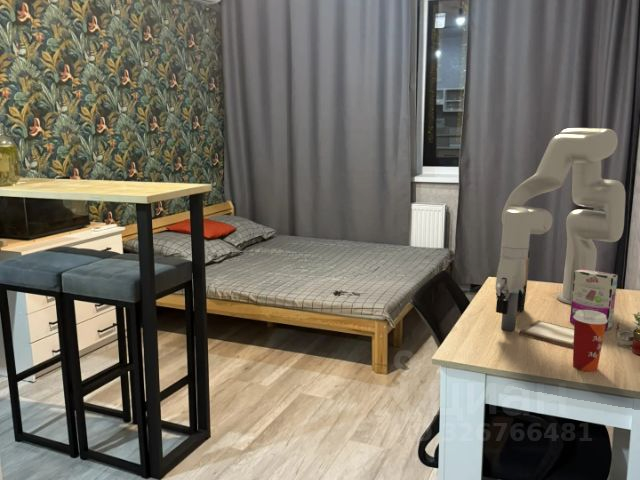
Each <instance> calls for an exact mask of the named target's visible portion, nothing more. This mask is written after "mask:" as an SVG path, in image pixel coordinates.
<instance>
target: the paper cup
mask: <svg viewBox="0 0 640 480" xmlns="http://www.w3.org/2000/svg"><path fill="white" fill-rule="evenodd" d="M573 317H574V319H575V321H574V323H573V324H574V327H573V329H574V345H573V348H572V351H573V352H572V366H573V368H575V369H577V370H579V371H583V372H589V373H592V372H596V371H597V370H598V367H599V362H600V357H601V352H602V346H603V340H604V335H605V331H606V330H605V325H606V323H607V322H608V321H607V319H606V315H605V314H603V313H601V312H598V311H593V310H578V311H576V313H575V315H574V316H573Z"/></svg>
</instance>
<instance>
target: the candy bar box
mask: <svg viewBox="0 0 640 480" xmlns="http://www.w3.org/2000/svg"><path fill="white" fill-rule="evenodd" d="M618 276H619V275H618V274H615V273H610V272H604V271H603V272H602V271H598V270H595V271H592V270H586V269H578V270H576V271H575V272H574V283H573V293H572V304H570V305H571V307H570V313H569V314H570V315H569V322H570V323H573V324H574V321H575V319H574V317H573V316H574V315H575V313H576V311H578V310H593V311H598V312H601V313H603V314H605V315H606V319H607V321H608V322H607V323H606V325H605V331H608V330H610V329H611V328H612V327H613V323H614V315H615V314H614V313H615V306H616V303H615V302H616V295H617V293H616V292H617V286H618V278H619V277H618Z"/></svg>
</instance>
